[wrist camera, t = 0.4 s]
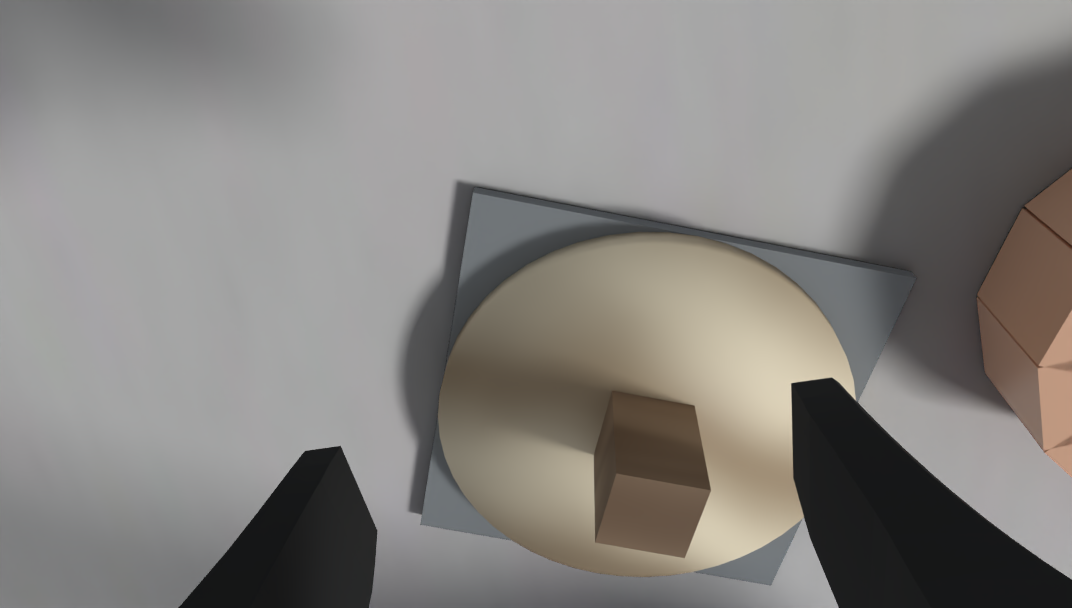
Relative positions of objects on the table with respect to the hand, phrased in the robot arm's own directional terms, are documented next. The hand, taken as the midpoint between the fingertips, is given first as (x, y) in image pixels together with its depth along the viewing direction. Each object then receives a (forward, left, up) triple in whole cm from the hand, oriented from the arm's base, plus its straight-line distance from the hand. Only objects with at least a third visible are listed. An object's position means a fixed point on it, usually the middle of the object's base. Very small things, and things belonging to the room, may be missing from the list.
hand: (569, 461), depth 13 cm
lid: (-6, -3, -10) cm, 12 cm away
